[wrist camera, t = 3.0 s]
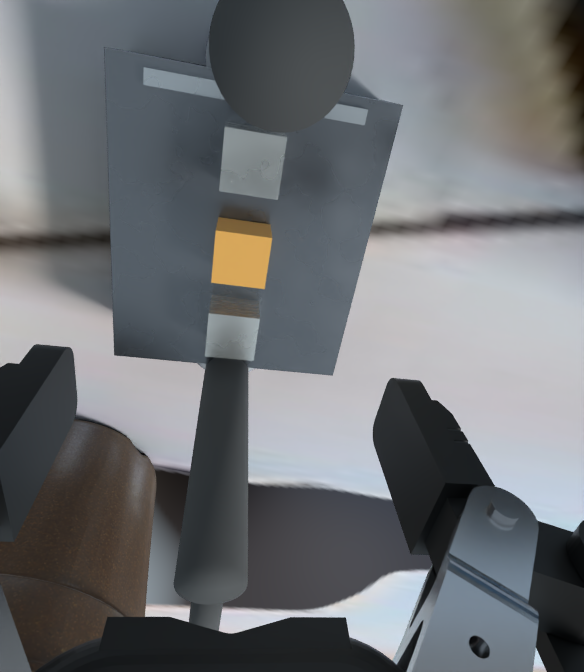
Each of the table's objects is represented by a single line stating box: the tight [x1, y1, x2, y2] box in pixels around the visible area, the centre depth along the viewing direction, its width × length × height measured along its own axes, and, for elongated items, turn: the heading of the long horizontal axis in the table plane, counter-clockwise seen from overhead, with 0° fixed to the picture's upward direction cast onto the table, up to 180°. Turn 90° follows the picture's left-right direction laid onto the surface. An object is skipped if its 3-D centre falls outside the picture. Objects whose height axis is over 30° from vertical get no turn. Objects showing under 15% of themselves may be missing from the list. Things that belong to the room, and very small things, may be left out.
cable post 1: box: [174, 357, 255, 631], centre depth 23 cm, size 5×10×16 cm, turn 170°
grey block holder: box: [104, 47, 403, 375], centre depth 22 cm, size 12×14×6 cm
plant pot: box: [0, 419, 156, 672], centre depth 27 cm, size 16×16×16 cm
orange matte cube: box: [211, 217, 272, 289], centre depth 20 cm, size 2×2×2 cm
